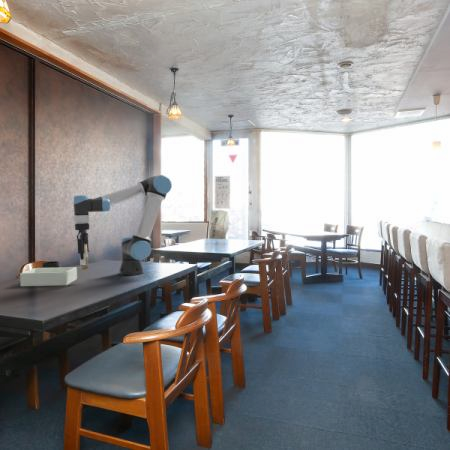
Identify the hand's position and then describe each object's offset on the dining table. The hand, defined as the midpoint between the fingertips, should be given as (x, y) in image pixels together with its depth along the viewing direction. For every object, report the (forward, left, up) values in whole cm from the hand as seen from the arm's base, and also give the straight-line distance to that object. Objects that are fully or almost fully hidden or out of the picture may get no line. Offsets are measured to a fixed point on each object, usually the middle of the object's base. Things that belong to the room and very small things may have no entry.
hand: (84, 264), depth 209 cm
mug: (+25, -19, -11) cm, 33 cm away
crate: (+20, -2, -10) cm, 22 cm away
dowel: (0, 0, -3) cm, 3 cm away
